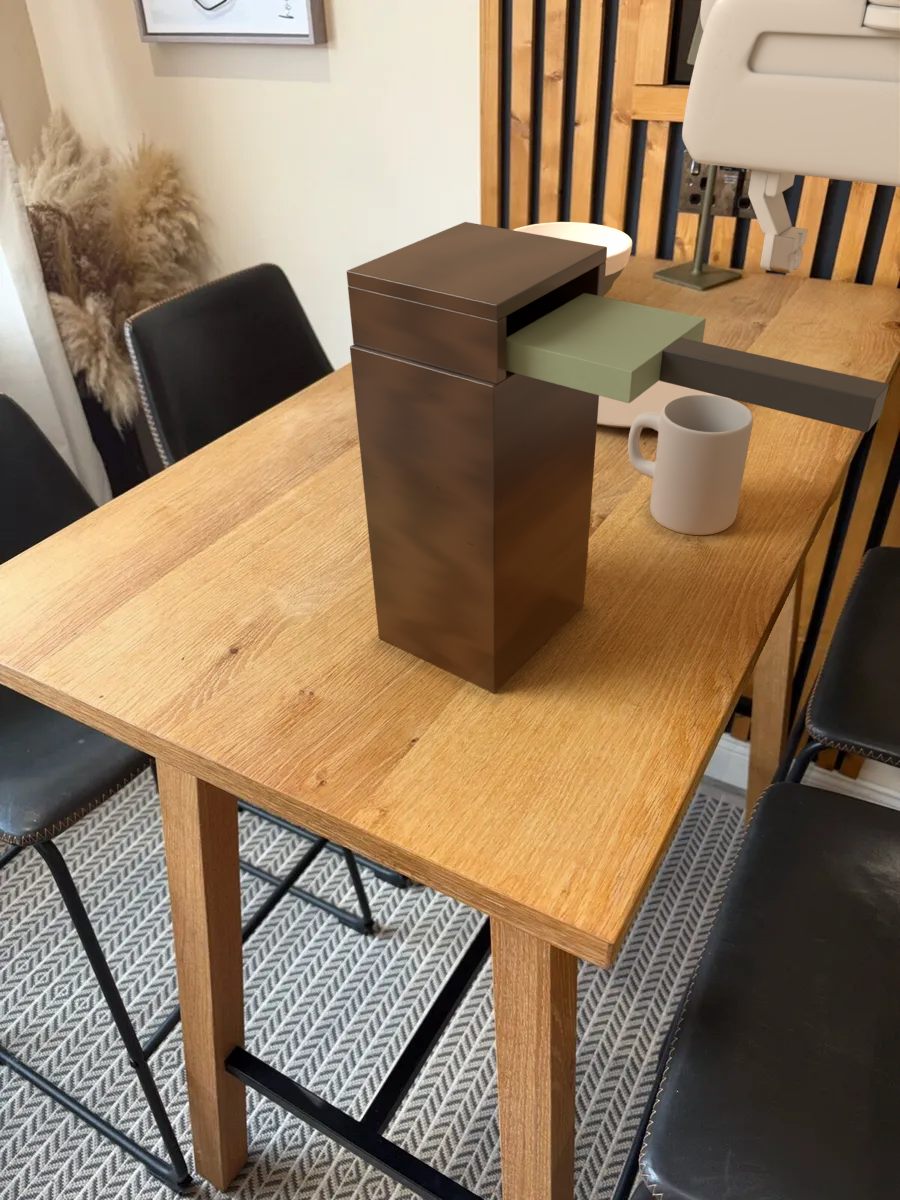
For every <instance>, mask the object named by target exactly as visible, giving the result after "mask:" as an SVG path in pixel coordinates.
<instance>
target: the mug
mask: <svg viewBox="0 0 900 1200" xmlns="http://www.w3.org/2000/svg"><path fill="white" fill-rule="evenodd" d="M753 425H754V415H753V413H752V411H751V410H750V409H749V408H748V406H746V405H744V403H741V402H740V401H738V400H734V399H729V398H725V397H721V396H715V395H687V396H682V397H678V398H675V399H673V400H671V401H669V402H668V403H667V404H666V405H665V406H664V407H663V409H662V412H661V413H656V412H644V413H642V414H640V415H638V416H637V417H636V419H635V420H634V422H633V424H632V426H631V429H630V430H629V433H628V439H627V454H628V460H629V463H630V465H631V466H632V468H633V469H634V470H635V471H636V472H638V473H639V474H641V475H643V476H646V477H648V478H649V479H650V478H651V479H652V485H651V493H650V501H649V511H650V514H651V517H652V518H653V519H654V520H655V521H656V523H658V524H659V525H660V526H662V527H663V528H666V529H668V530H670V531H673V532H676V533H679V534H684V535H692V536H707V535H714V534H717V533H721V532H723V531H726V530H727V529H729V528H730V527H731V526H732V525H733V524H734V522H735V520H736V518H737V515H738V510H739V505H740V504H739V503H740V498H741V497H740V496H741V492H742V485H743V481H744V479H743V478H744V474H745V468H746V463H747V457H748V452H749V447H750V440H751V437H752V429H753ZM644 427H650V428H649V429H653V430H654V431H657V432H658V433H657V443H656V444H657V445H656V452H655V453H656V454H655V461H653V460H648V459H647V458H645V457H644V456H643V454H642V452H641V447H640V445H641V444H640V439H641V433H642V431H643V429H645V428H644Z"/></svg>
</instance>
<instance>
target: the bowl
mask: <svg viewBox="0 0 900 1200" xmlns="http://www.w3.org/2000/svg"><path fill="white" fill-rule="evenodd" d="M513 230H514V231H520V232H526V233H531V234H537V235H543V236H548V237H554V238H560V239H565V240H571V241H576V242H582V243H588V244H593V245H599V246H605V247H607V257H606V270H605V285H604V296H606V295H607V293H609V292H610V290H611V289H613V288H612V287H613V286H614V283H615V282H616V280H617V279H618V278H619V277H620V276H621V274H622V272H623V271H624V270H625V267H626V266H627V265H628V262H629V259H630V256H631V253H632V248H633V239H632V238H631V237H630V236H629V235H628V234H627V233H625V232H624V231H622V230H619V229H617V228H614V227H612V226H611V227H610V226H606V225H601V224H596V223H589V222H577V221H575V222H574V221H555V222H543V223H534V224H529V225H525V226H521V227H516V228H514V229H513Z"/></svg>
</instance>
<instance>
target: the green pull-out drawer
mask: <svg viewBox="0 0 900 1200" xmlns="http://www.w3.org/2000/svg"><path fill="white" fill-rule="evenodd" d="M706 321H707V318H706V317H701V316H697V315H692V314H689V313H688V314H687V313H682V312H678V311H673V310H668V309H665V308H664V309H663V308H658V307H654V306H649V305H645V304H640V303H636V302H635V303H634V302H631V301H630V302H629V301H624V300H619V299H615V298H611V297H606V296H604V297H601V296H596V295H592V294H587V293H583V294H582V295H580V296H578V297H576V298H575V299H573V300H571V301H569V302H568V303H566V304H564V305H563V306H561V307H559V308H557V309H556V310H554V311H552V312H550V313H549V314H547V315H545V316H543V317H542V318H540V319H538V320H536V321H535V322H533V323H531V324H529V325H528V326H526V327H524V328H522V329H521V330H519V331H517V332H516V333H514V334H512V335H510V336H509V337H507V338H506V371H510V372H513V373H517V374H521V375H524V376H528V377H532V378H536V379H539V380H543V381H547V382H551V383H554V384H558V385H562V386H566V387H569V388H573V389H577V390H580V391H584V392H588V393H592V394H595V395H599V396H603V397H607V398H610V399H614V400H618V401H622V402H625V403H631V402H632V401H633V400H634V399H636V398H637V397H638V396H640V395H641V394H642V393H644V392H645V391H646V390H647V389H649V388H650V387H651V386H653V385H654V384H655V383H657V382H658V381H659V380H660V381H662V382H666V383H670V384H674V385H678V386H682V387H686V388H690V389H694V390H698V391H702V392H706V393H710V394H714V395H718V396H722V397H726V398H730V399H732V400H735V401H737V402H742V403H746V404H751V405H755V406H759V407H763V408H765V409H769V410H770V409H771V410H775V411H779V412H782V413H787V414H790V415H795V416H799V417H802V418H807V419H811V420H815V421H819V422H822V423H827V424H831V425H835V426H839V427H843V428H847V429H851V430H854V431H858V432H863V433H868V432H869V431H870V430H871V429H872V427H873V426H874V425H875V423H877V421H878V420H879V419H880V417H881V416H882V412H883V408H884V405H885V401H886V398H887V395H888V390H889V387H890V384H889V383H888V382H887V383H886V382H884V381H883V382H882V381H878V380H874V379H870V378H869V379H868V378H865V377H861V376H857V375H852V374H847V373H842V372H837V371H833V370H828V369H823V368H819V367H816V366H815V367H814V366H810V365H807V364H806V365H805V364H802V363H797V362H793V361H788V360H783V359H778V358H774V357H771V356H765V355H760V354H757V353H753V352H748V351H747V352H746V351H743V350H738V349H734V348H729V347H724V346H720V345H715V344H713V343H712V344H711V343H706V342H704V336H705V328H706Z"/></svg>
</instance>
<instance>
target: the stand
mask: <svg viewBox="0 0 900 1200" xmlns="http://www.w3.org/2000/svg"><path fill="white" fill-rule="evenodd" d="M606 257H607V247H605V246H599V245H593V244H588V243H582V242H576V241H571V240H565V239H560V238H554V237H548V236H543V235H537V234H531V233H526V232H520V231H514V229H510V228H509V229H508V228H503V227H497V226H492V225H485V224H479V223H474V222H469V221H463V222H461V223H459V224H456V225H453V226H452V227H449V228H447V229H444V230H442V231H440V232H437V233H435V234H433V235H430V236H428V237H425V238H422V239H420V240H417V241H416V242H413V243H411V244H407V245H406V246H403V247H401V248H398V249H396V250H393V251H391V252H388V253H386V254H384V255H381V256H379V257H377V258H374V259H372V260H369V261H366V262H364V263H362V264H360V265H357V266H355V267H352V268H350V269H348V270H346V281H347V292H348V302H349V303H348V304H349V312H350V324H351V334H352V343H353V344H352V345H350V346H349V353H350V363H351V371H352V383H353V393H354V403H355V413H356V423H357V432H358V433H357V434H358V442H359V453H360V462H361V472H362V473H361V475H362V483H363V492H364V502H365V503H364V504H365V513H366V523H367V532H368V533H367V534H368V540H369V541H368V543H369V544H368V545H369V553H370V562H371V573H372V582H373V583H372V585H373V592H374V593H373V594H374V603H375V604H374V605H375V612H376V613H375V615H376V623H377V633H378V639H379V640H381V641H383V642H386V643H388V644H389V645H391V646H394V647H396V648H397V649H400V650H402V651H404V652H406V653H408V654H410V655H413V656H415V657H416V658H418V659H421V660H422V661H424V662H427V663H429V664H430V665H433V666H434V667H437V668H439V669H441V670H444V671H446V672H448V673H450V674H452V675H454V676H456V677H458V678H461V679H462V680H464V681H466V682H469V683H471V684H473V685H475V686H477V687H480V688H481V689H483V690H485V691H488V692H490V693H492V694H496V693H497V692H498V691H499V690H500V689H501V688H502V687H503V686H504V685H505V684H506V683H507V682H508V681H509V680H510V679H511V678H512V677H513V676H514V675H515V674H516V673H517V672H518V671H519V670H520V669H521V668H522V667H523V666H524V665H525V664H526V663H527V662H528V661H529V660H530V659H531V658H532V657H533V656H534V655H535V654H536V653H537V652H538V651H539V650H540V649H541V648H542V647H543V646H544V645H545V644H546V643H547V642H548V641H549V640H550V639H551V638H553V636H554V635H556V633H557V632H558V631H559V630H561V628H562V627H563V626H564V625H565V624H567V623H568V622H569V620H570V619H572V617H573V616H575V614H577V613H578V612H579V610H581V609H582V607H584V606H585V597H586V596H585V595H586V583H587V582H586V581H587V570H588V569H587V568H588V557H589V556H588V555H589V554H588V553H589V552H588V551H589V540H590V529H591V528H590V527H591V526H590V525H591V513H592V500H593V499H592V498H593V486H594V485H593V484H594V471H595V458H596V445H597V444H596V443H597V431H598V430H597V429H598V425H597V418H598V405H599V395H595V394H592V393H588V392H584V391H580V390H577V389H573V388H569V387H566V386H562V385H558V384H554V383H551V382H547V381H543V380H539V379H536V378H532V377H528V376H524V375H521V374H517V373H513V372H510V371H506V338H507V337H509V336H510V335H512V334H514V333H516V332H517V331H519V330H521V329H522V328H524V327H526V326H528V325H529V324H531V323H533V322H535V321H536V320H538V319H540V318H542V317H543V316H545V315H547V314H549V313H550V312H552V311H554V310H556V309H557V308H559V307H561V306H563V305H564V304H566V303H568V302H569V301H571V300H573V299H575V298H576V297H578V296H580V295H582V294H583V293H587V294H592V295H596V296H601V297H605V295H604V285H605V270H606Z"/></svg>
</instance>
